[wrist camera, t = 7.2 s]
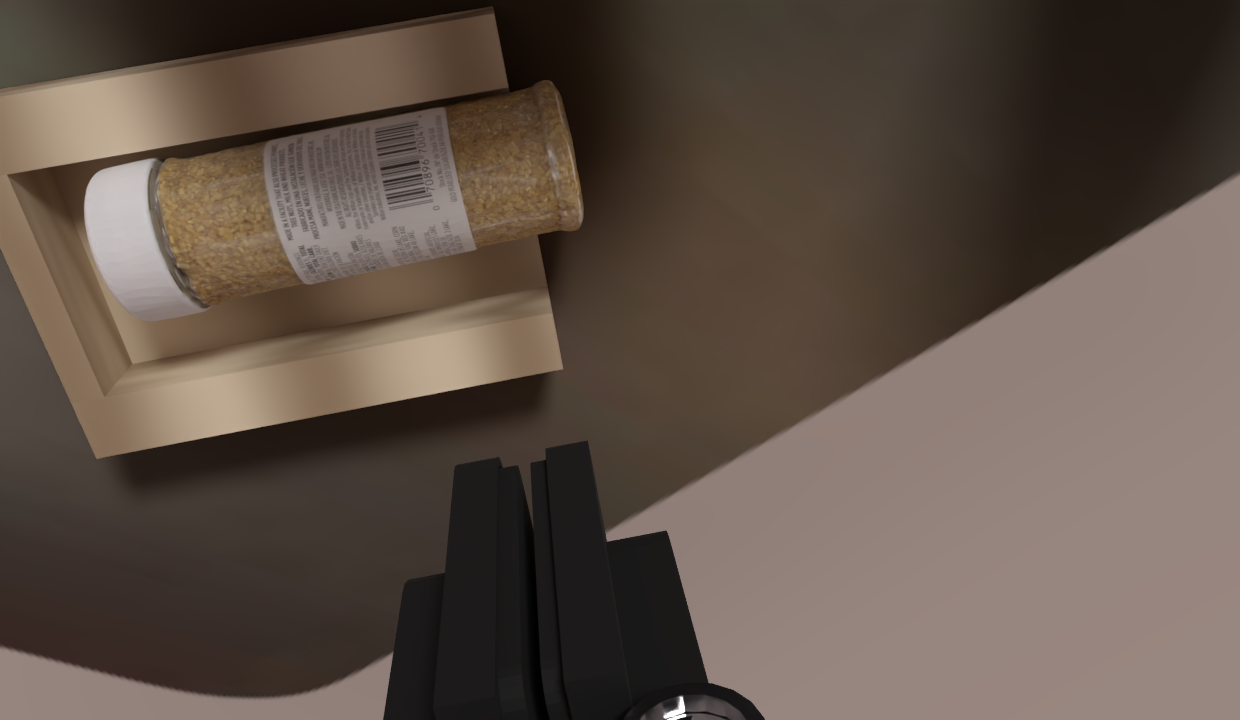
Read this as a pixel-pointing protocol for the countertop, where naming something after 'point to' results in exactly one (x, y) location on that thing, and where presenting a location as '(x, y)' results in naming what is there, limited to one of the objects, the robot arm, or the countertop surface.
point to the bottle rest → (283, 318)
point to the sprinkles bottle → (333, 202)
